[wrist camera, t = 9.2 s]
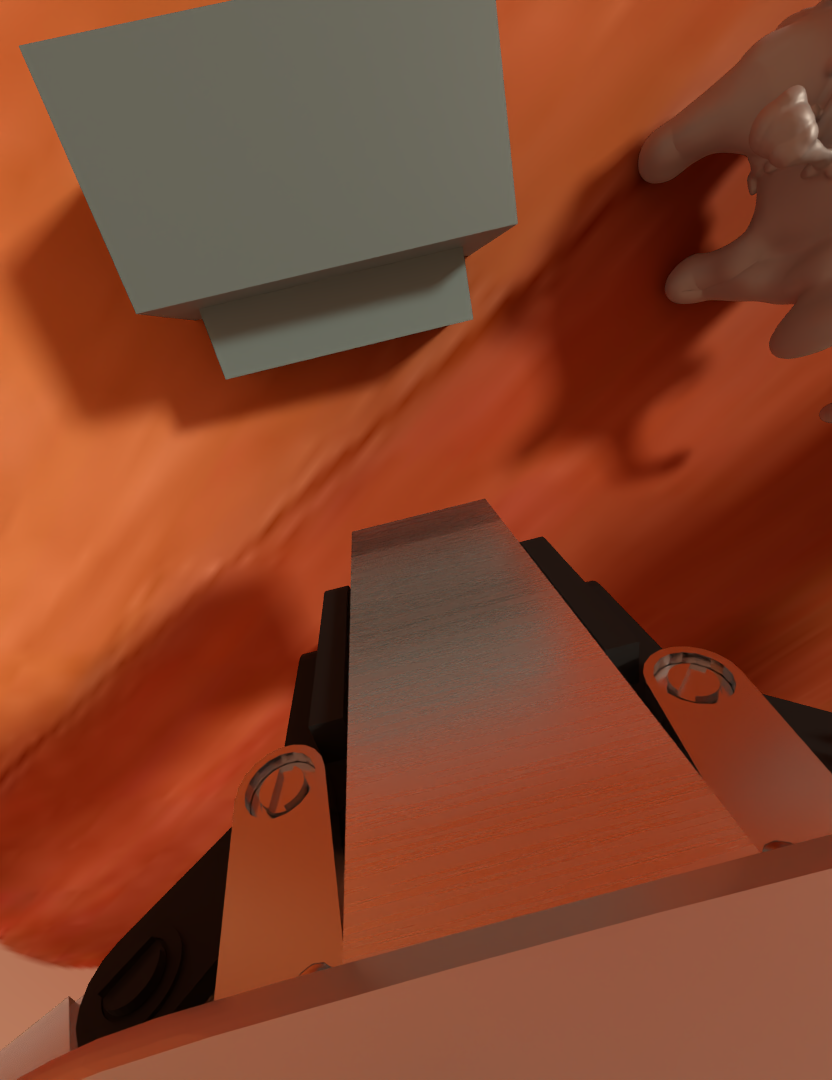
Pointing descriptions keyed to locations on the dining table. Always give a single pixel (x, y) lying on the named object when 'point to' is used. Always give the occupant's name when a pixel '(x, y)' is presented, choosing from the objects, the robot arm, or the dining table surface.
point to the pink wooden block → (496, 745)
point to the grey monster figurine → (766, 180)
